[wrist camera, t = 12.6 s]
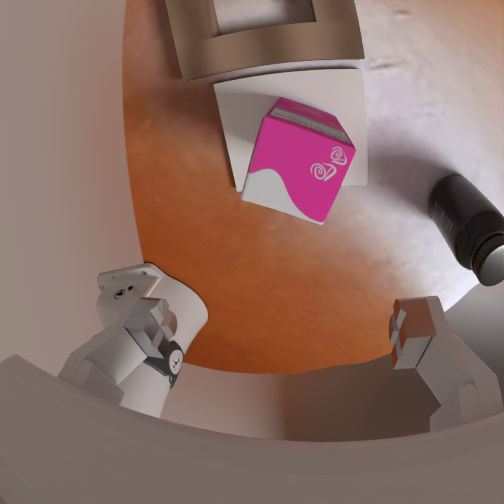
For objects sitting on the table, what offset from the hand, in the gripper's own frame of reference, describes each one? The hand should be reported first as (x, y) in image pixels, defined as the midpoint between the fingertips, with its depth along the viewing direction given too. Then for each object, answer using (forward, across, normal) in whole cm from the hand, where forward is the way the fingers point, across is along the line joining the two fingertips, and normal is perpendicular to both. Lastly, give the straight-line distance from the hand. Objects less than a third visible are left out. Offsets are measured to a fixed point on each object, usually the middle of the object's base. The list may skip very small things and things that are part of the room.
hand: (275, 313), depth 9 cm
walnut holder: (+21, +1, -16) cm, 27 cm away
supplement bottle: (+22, -18, +7) cm, 29 cm away
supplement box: (+21, 0, -1) cm, 21 cm away
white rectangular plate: (+21, 0, -1) cm, 21 cm away
